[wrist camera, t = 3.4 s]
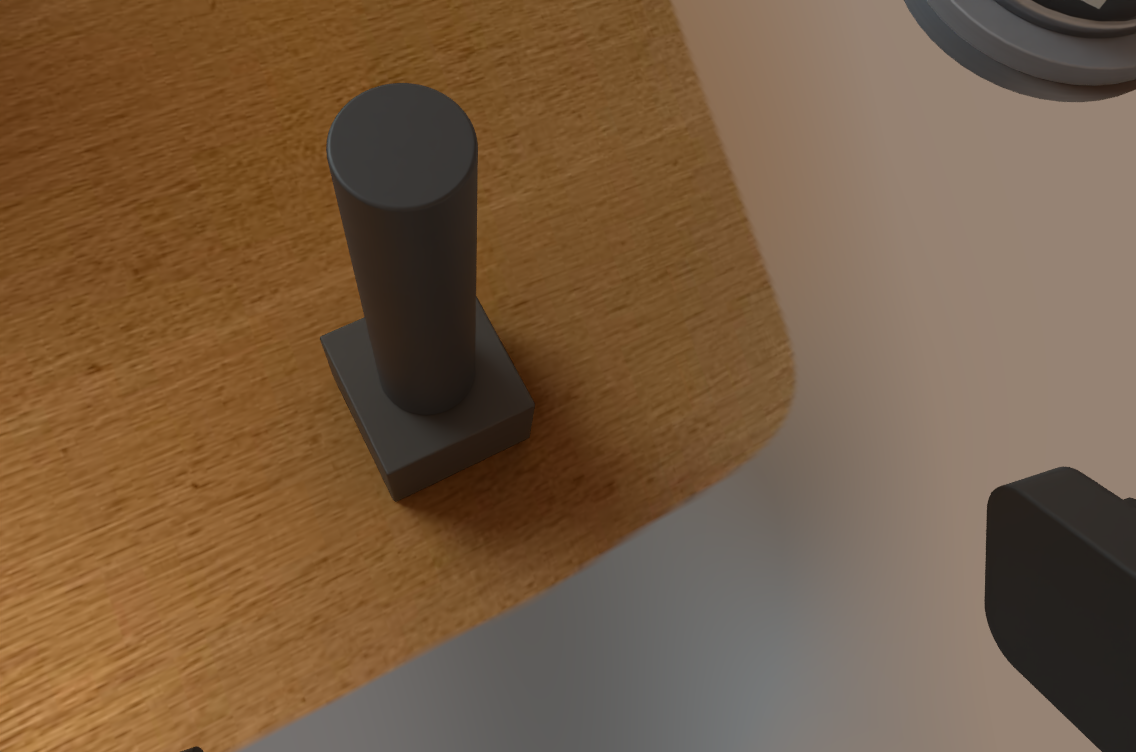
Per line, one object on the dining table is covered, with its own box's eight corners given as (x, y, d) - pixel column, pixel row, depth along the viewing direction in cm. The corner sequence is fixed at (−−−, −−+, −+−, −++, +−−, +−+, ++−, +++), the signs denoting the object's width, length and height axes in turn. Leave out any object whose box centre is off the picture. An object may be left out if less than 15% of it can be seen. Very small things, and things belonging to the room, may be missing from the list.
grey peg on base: (465, 316, 32) (460, 7, 19) (530, 438, 31) (573, 197, 18) (332, 374, 31) (232, 90, 18) (394, 503, 30) (335, 298, 17)
